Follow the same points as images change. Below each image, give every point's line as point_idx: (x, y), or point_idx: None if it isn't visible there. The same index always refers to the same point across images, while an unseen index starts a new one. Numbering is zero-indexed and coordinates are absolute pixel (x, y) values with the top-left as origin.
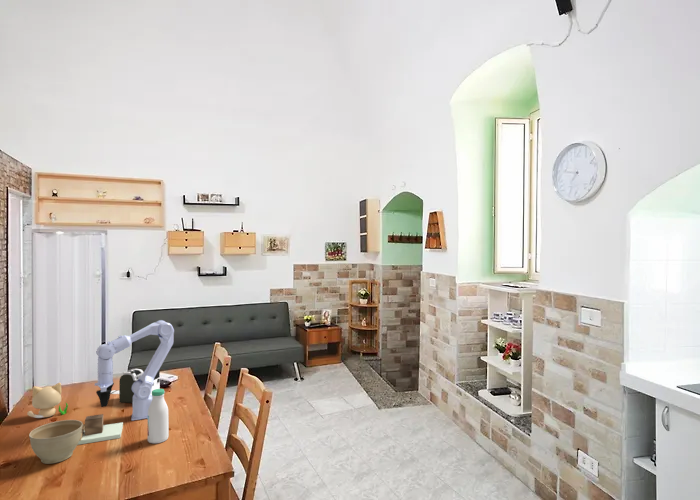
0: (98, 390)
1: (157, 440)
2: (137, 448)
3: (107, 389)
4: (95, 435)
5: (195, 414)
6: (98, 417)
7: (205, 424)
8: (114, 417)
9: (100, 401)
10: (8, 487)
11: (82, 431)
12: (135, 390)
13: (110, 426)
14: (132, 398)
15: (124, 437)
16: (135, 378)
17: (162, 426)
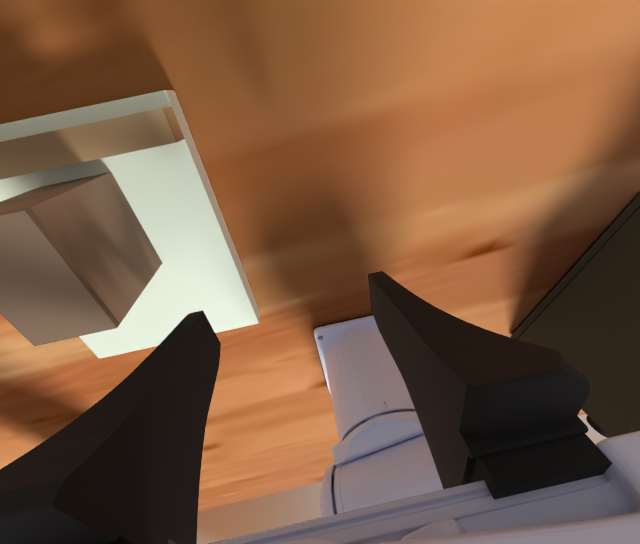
0: (69, 521)
1: None
2: (18, 420)
3: (422, 400)
4: None
5: (323, 467)
6: (28, 322)
7: (236, 497)
8: (393, 237)
9: (147, 359)
10: None
11: (19, 172)
12: (368, 505)
13: (202, 286)
14: (599, 275)
15: (117, 356)
16: None
17: None
